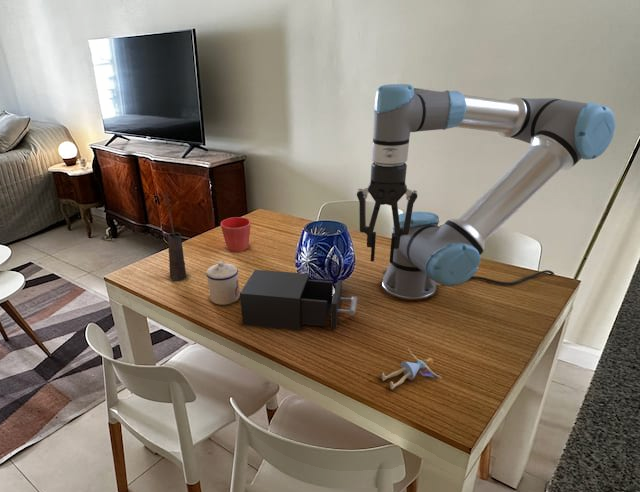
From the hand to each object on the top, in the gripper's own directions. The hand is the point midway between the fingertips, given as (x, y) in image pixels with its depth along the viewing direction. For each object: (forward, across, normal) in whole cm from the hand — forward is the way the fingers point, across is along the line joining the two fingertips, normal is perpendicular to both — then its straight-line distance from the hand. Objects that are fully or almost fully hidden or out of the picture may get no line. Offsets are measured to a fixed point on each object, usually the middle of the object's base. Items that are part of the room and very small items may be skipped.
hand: (381, 259), depth 109 cm
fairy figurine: (+19, +8, -20) cm, 29 cm away
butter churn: (+19, -63, +15) cm, 67 cm away
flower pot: (+19, -52, +41) cm, 69 cm away
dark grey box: (+19, -27, 0) cm, 33 cm away
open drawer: (+18, -15, 0) cm, 23 cm away
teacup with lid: (+19, -45, +7) cm, 49 cm away
